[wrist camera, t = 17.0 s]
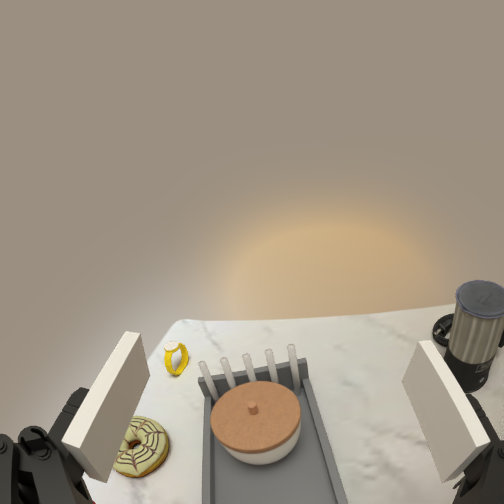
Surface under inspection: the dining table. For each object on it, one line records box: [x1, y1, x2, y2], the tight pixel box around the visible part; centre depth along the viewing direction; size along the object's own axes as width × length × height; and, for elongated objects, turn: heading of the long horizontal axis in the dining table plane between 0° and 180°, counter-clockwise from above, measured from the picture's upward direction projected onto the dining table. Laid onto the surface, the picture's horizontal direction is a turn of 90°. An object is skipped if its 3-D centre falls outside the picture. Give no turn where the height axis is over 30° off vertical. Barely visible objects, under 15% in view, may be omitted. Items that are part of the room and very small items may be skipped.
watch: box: [164, 341, 188, 375], centre depth 52 cm, size 6×3×6 cm, turn 162°
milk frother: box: [433, 280, 504, 393], centre depth 37 cm, size 14×16×15 cm
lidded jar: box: [210, 381, 301, 465], centre depth 33 cm, size 11×11×9 cm
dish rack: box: [198, 344, 348, 504], centre depth 31 cm, size 16×24×11 cm, turn 5°
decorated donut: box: [112, 416, 169, 477], centre depth 35 cm, size 10×11×4 cm
